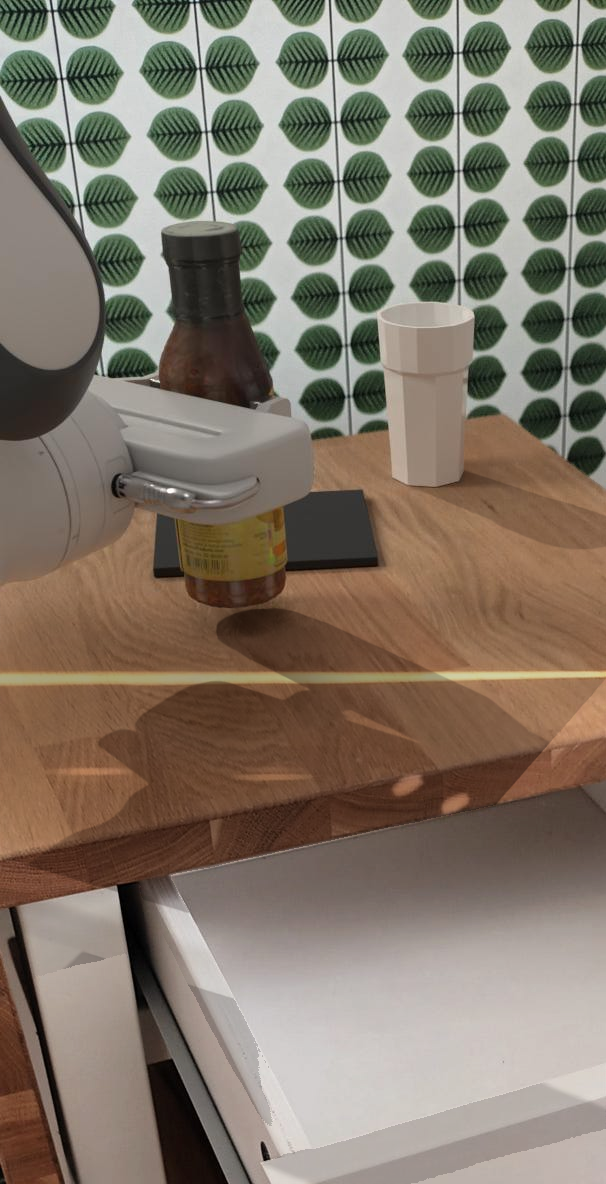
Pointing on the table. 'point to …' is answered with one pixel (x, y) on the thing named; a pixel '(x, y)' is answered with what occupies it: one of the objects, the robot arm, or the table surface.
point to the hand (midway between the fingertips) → (226, 398)
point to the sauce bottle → (228, 375)
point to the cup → (426, 388)
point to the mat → (299, 534)
